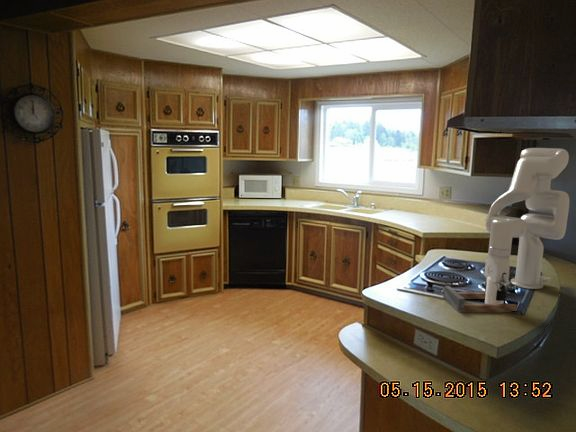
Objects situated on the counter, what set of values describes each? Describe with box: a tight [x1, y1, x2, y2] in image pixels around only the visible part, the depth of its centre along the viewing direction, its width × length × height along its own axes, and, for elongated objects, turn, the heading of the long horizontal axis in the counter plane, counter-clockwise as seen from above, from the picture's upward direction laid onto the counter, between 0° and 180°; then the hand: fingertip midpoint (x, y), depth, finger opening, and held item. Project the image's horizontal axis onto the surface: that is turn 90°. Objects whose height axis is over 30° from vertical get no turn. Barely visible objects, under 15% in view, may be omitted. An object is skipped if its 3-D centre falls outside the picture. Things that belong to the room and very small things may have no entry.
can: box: [484, 277, 505, 304], centre depth 165 cm, size 6×6×12 cm
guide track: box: [442, 285, 518, 313], centre depth 166 cm, size 22×14×5 cm, turn 92°
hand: (494, 296), depth 166 cm, fingers open, 7 cm apart
